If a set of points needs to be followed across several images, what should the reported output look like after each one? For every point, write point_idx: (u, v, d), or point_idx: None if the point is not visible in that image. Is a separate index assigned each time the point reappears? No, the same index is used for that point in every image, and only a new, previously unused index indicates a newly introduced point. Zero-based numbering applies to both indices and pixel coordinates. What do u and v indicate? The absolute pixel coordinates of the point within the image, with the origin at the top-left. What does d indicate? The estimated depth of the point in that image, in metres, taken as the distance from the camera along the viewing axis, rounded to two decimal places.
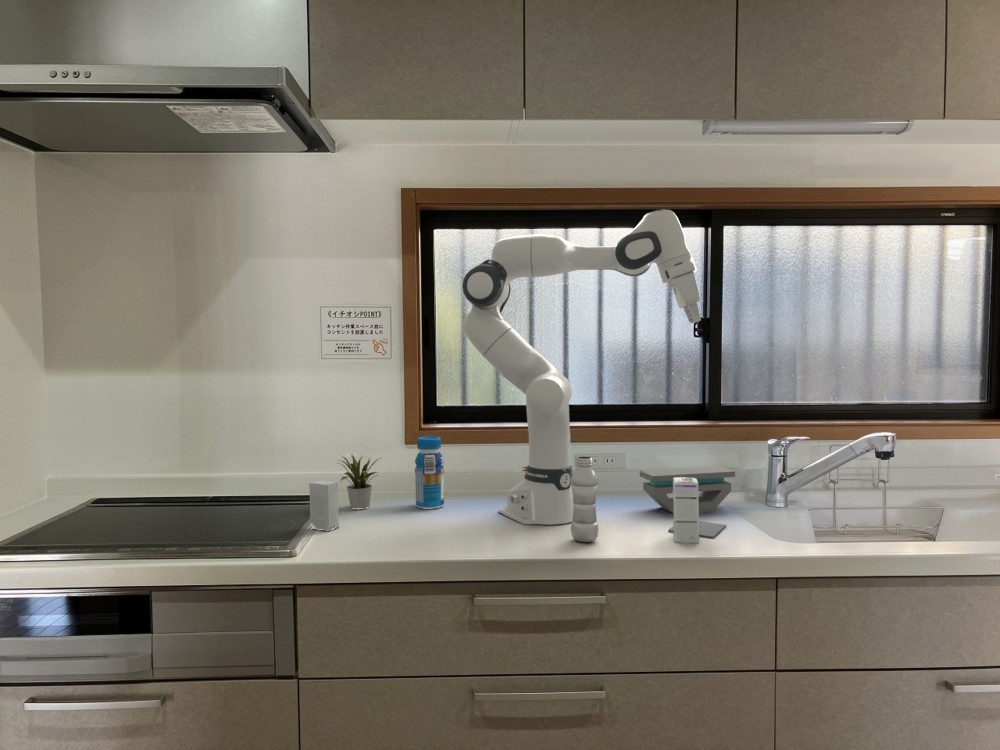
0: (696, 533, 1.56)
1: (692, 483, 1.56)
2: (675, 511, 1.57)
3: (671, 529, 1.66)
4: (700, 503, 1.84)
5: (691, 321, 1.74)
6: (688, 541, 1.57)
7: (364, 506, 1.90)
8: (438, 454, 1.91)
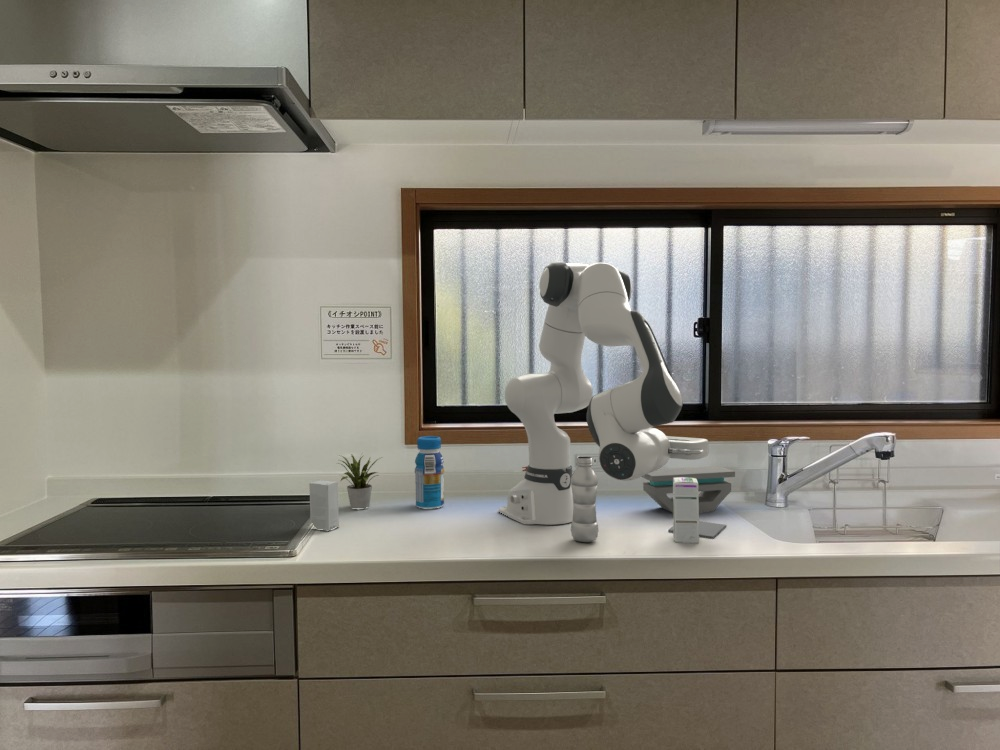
0: (696, 533, 1.56)
1: (692, 483, 1.56)
2: (675, 511, 1.57)
3: (671, 529, 1.66)
4: (700, 503, 1.84)
5: None
6: (688, 541, 1.57)
7: (364, 506, 1.90)
8: (438, 454, 1.91)
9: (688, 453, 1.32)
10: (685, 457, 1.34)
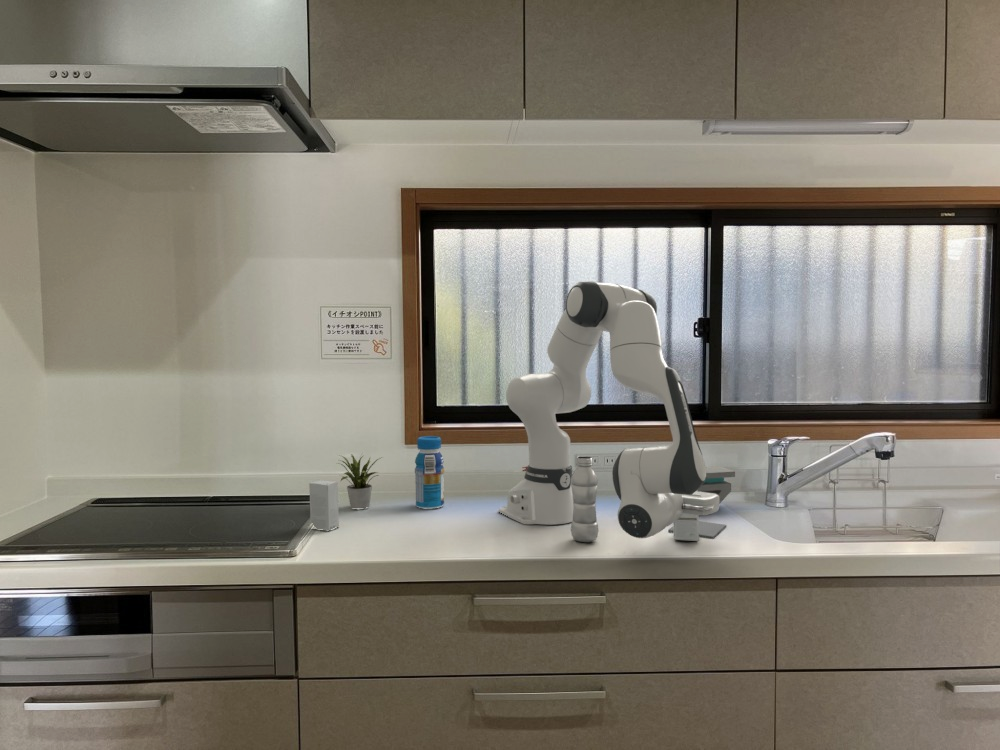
0: (696, 530, 1.57)
1: None
2: None
3: (671, 529, 1.66)
4: None
5: None
6: (688, 538, 1.57)
7: (364, 506, 1.90)
8: (438, 454, 1.91)
9: (700, 510, 1.41)
10: (697, 513, 1.43)
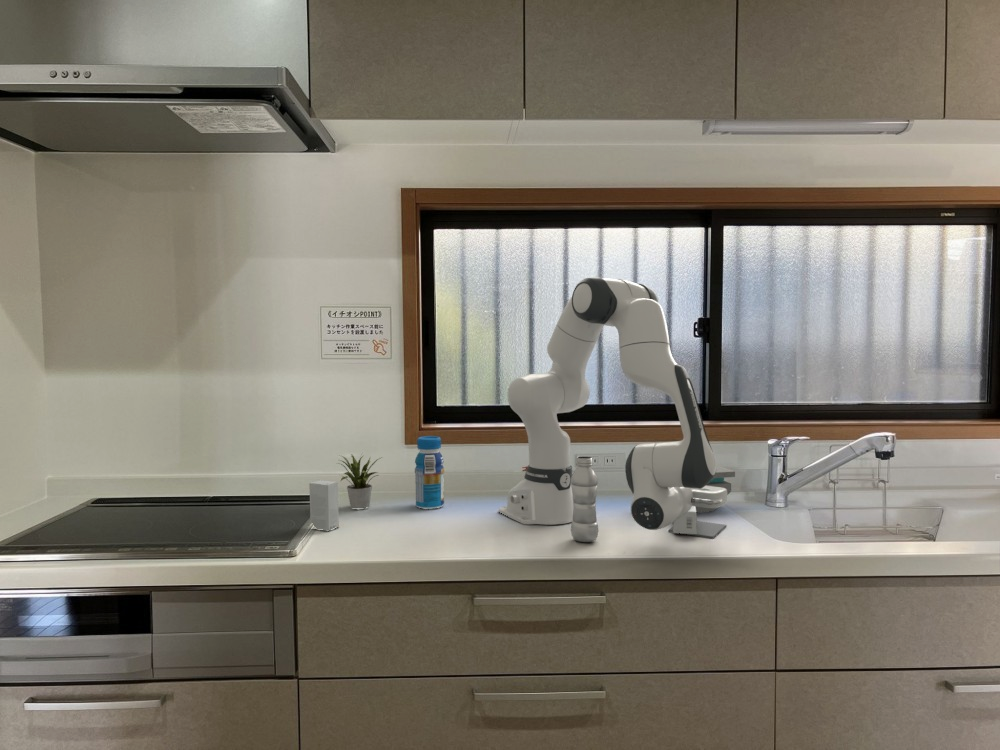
0: (693, 509, 1.64)
1: None
2: None
3: (671, 529, 1.66)
4: None
5: None
6: None
7: (364, 506, 1.90)
8: (438, 454, 1.91)
9: (709, 503, 1.47)
10: (706, 506, 1.49)
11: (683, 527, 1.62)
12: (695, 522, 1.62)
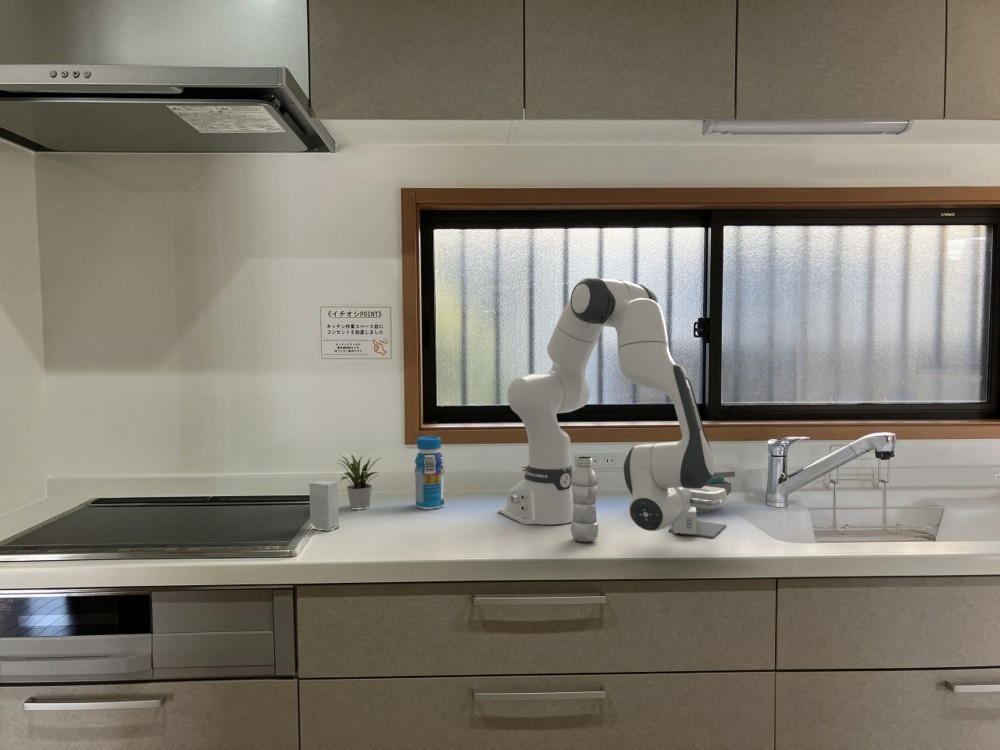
0: (693, 509, 1.64)
1: None
2: None
3: (671, 529, 1.66)
4: None
5: None
6: None
7: (364, 506, 1.90)
8: (438, 454, 1.91)
9: (709, 503, 1.45)
10: (705, 506, 1.47)
11: (683, 527, 1.62)
12: (695, 522, 1.62)
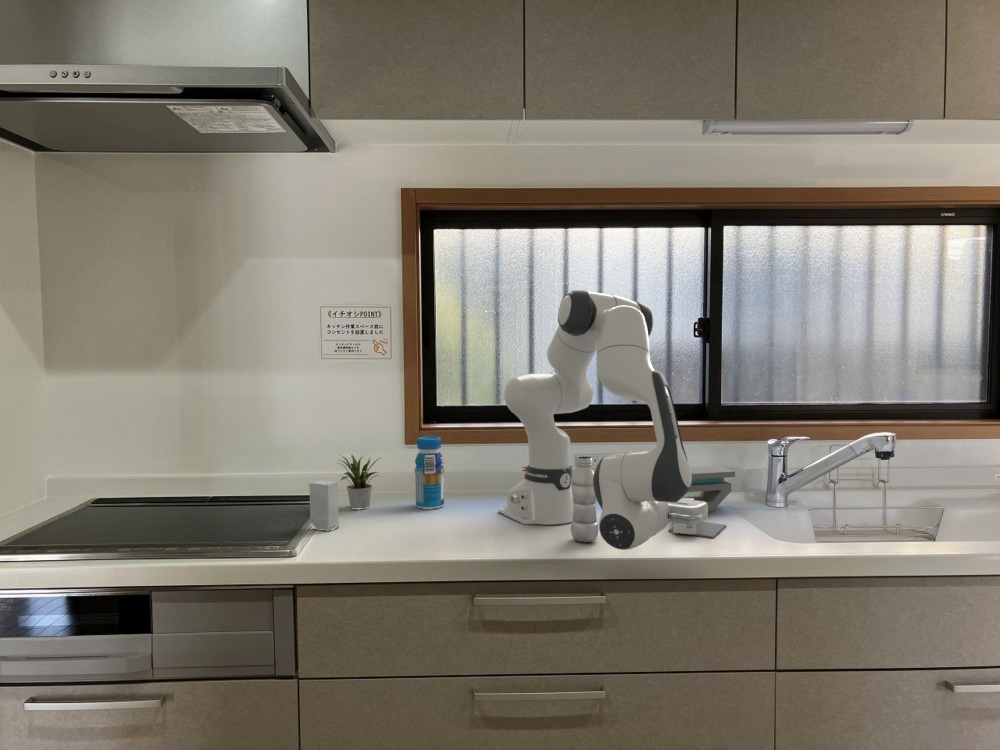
0: None
1: (688, 498, 1.75)
2: None
3: (671, 529, 1.66)
4: None
5: None
6: None
7: (364, 506, 1.90)
8: (438, 454, 1.91)
9: (687, 519, 1.33)
10: (684, 522, 1.35)
11: (683, 527, 1.62)
12: None
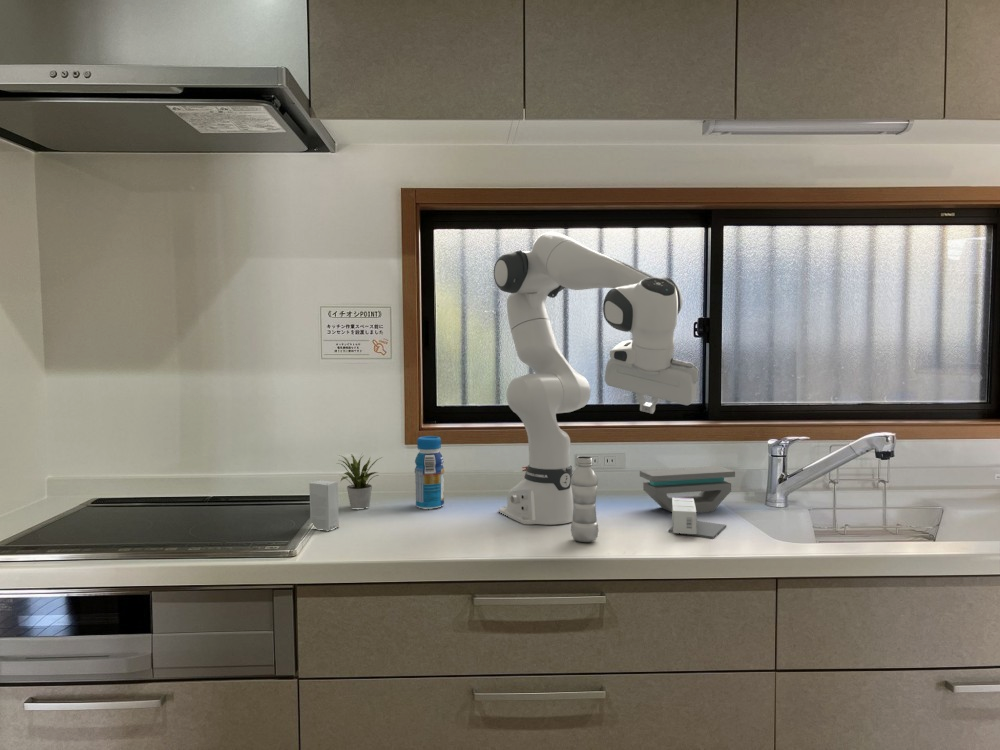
0: (693, 509, 1.64)
1: (688, 498, 1.75)
2: (673, 503, 1.70)
3: (671, 529, 1.66)
4: (700, 503, 1.84)
5: None
6: (686, 511, 1.62)
7: (364, 506, 1.90)
8: (438, 454, 1.91)
9: (690, 363, 1.39)
10: (682, 371, 1.40)
11: (683, 527, 1.62)
12: (695, 522, 1.62)
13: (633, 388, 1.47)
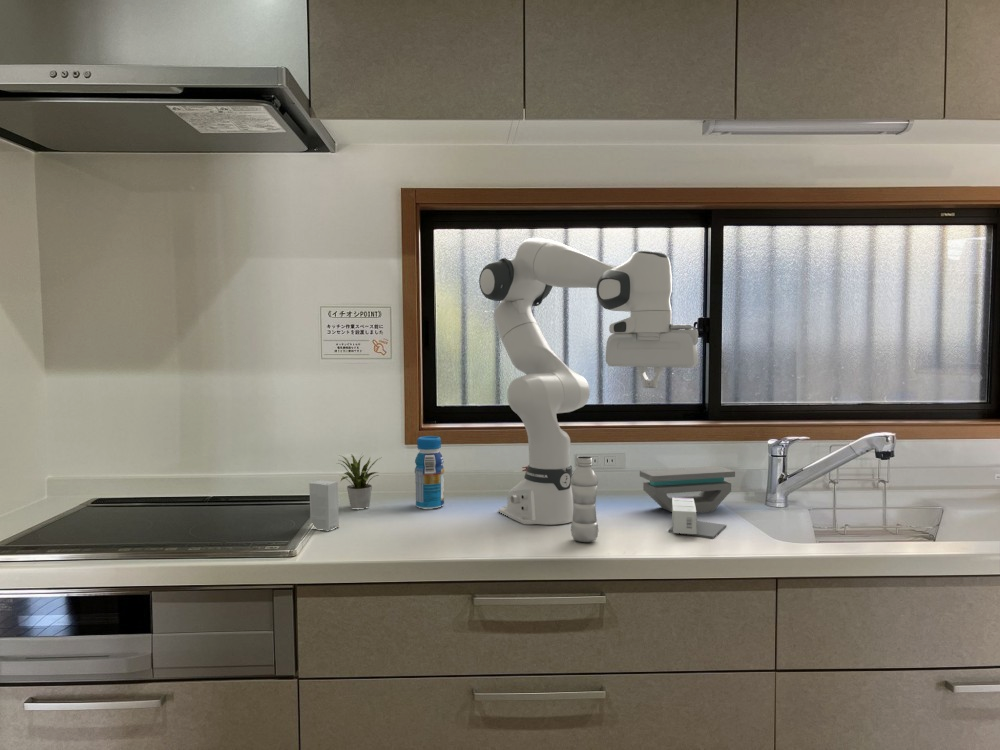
0: (693, 509, 1.64)
1: (688, 498, 1.75)
2: (673, 503, 1.70)
3: (671, 529, 1.66)
4: (700, 503, 1.84)
5: None
6: (686, 511, 1.62)
7: (364, 506, 1.90)
8: (438, 454, 1.91)
9: (688, 324, 1.42)
10: (681, 332, 1.42)
11: (683, 527, 1.62)
12: (695, 522, 1.62)
13: (635, 362, 1.47)
